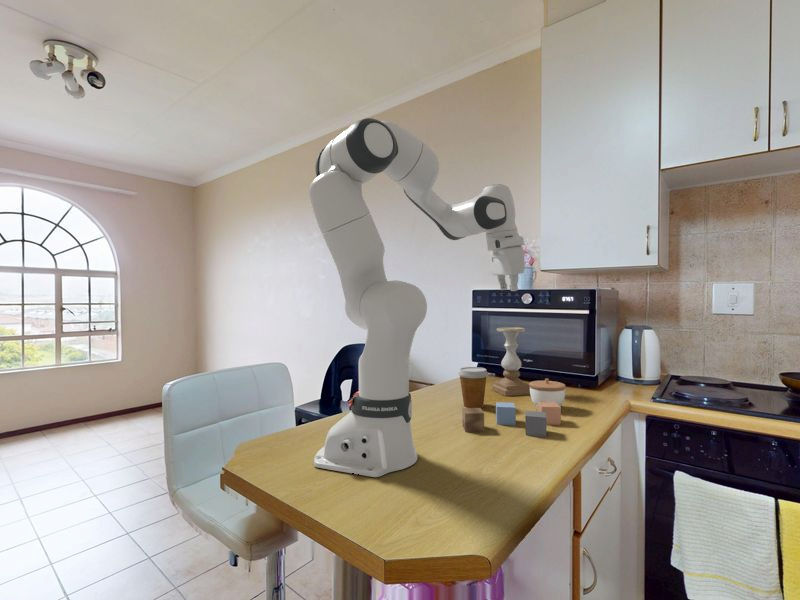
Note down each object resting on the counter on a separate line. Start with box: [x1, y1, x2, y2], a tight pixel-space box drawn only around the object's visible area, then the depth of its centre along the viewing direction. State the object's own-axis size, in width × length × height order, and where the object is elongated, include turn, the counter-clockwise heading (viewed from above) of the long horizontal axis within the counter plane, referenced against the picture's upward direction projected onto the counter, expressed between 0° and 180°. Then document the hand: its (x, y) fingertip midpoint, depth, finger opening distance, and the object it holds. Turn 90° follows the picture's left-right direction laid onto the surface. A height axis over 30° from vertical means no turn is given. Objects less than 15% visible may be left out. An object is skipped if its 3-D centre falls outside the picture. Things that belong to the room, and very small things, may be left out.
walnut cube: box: [461, 407, 485, 433], centre depth 105 cm, size 5×5×5 cm
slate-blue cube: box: [495, 401, 517, 426], centre depth 110 cm, size 5×5×5 cm
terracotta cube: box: [537, 402, 562, 426], centre depth 109 cm, size 5×5×5 cm
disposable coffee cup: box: [458, 366, 489, 409], centre depth 127 cm, size 10×10×12 cm
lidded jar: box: [528, 378, 566, 409], centre depth 123 cm, size 11×11×9 cm
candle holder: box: [491, 326, 530, 397], centre depth 145 cm, size 11×11×24 cm
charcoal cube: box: [524, 410, 548, 438], centre depth 101 cm, size 5×5×5 cm
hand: (508, 290), depth 112 cm, fingers open, 8 cm apart
